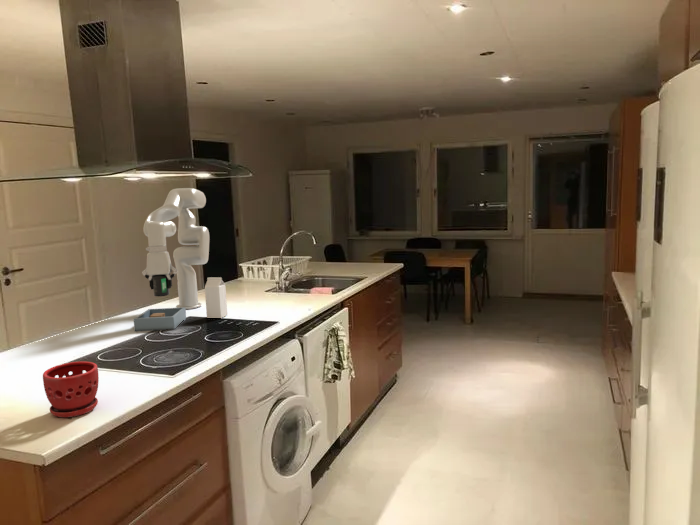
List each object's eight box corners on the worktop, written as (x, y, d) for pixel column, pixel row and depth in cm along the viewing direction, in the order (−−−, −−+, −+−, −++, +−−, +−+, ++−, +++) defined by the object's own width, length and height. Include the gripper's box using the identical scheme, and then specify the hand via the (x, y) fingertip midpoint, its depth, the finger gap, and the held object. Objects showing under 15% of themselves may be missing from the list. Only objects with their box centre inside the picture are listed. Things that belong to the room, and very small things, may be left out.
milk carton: (221, 319, 250) (218, 278, 247) (206, 318, 251) (203, 278, 249) (227, 315, 256) (224, 276, 254) (213, 315, 258) (210, 276, 255)
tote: (149, 320, 252) (148, 309, 252) (186, 318, 253) (185, 307, 252) (134, 331, 232) (133, 318, 232) (174, 329, 233) (173, 316, 233)
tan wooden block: (154, 324, 241) (153, 313, 240) (165, 323, 241) (164, 312, 240) (150, 327, 236) (149, 315, 235) (162, 326, 236) (161, 315, 235)
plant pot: (36, 417, 142) (30, 373, 140) (78, 399, 153) (74, 358, 152) (71, 424, 136) (65, 379, 135) (112, 405, 148) (108, 363, 147)
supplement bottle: (168, 295, 242) (166, 269, 241) (152, 297, 241) (150, 270, 240) (170, 293, 249) (168, 267, 248) (155, 294, 248) (152, 268, 246)
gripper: (135, 251, 238) (139, 290, 241) (175, 249, 239) (178, 289, 241) (141, 249, 246) (144, 288, 248) (179, 247, 247) (182, 286, 249)
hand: (161, 288), depth 245 cm, fingers closed on supplement bottle, 6 cm apart
